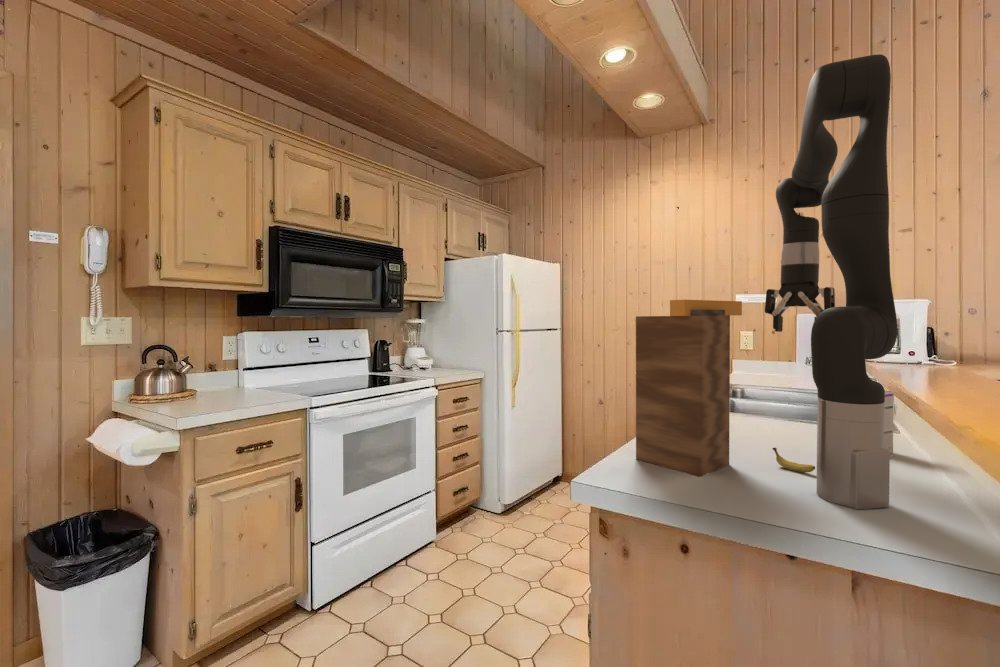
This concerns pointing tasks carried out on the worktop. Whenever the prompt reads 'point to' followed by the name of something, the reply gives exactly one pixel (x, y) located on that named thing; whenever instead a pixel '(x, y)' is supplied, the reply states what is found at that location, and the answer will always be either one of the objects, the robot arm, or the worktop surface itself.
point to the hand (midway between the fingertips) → (797, 332)
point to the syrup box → (888, 420)
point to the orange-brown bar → (704, 306)
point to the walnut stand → (683, 391)
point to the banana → (793, 464)
